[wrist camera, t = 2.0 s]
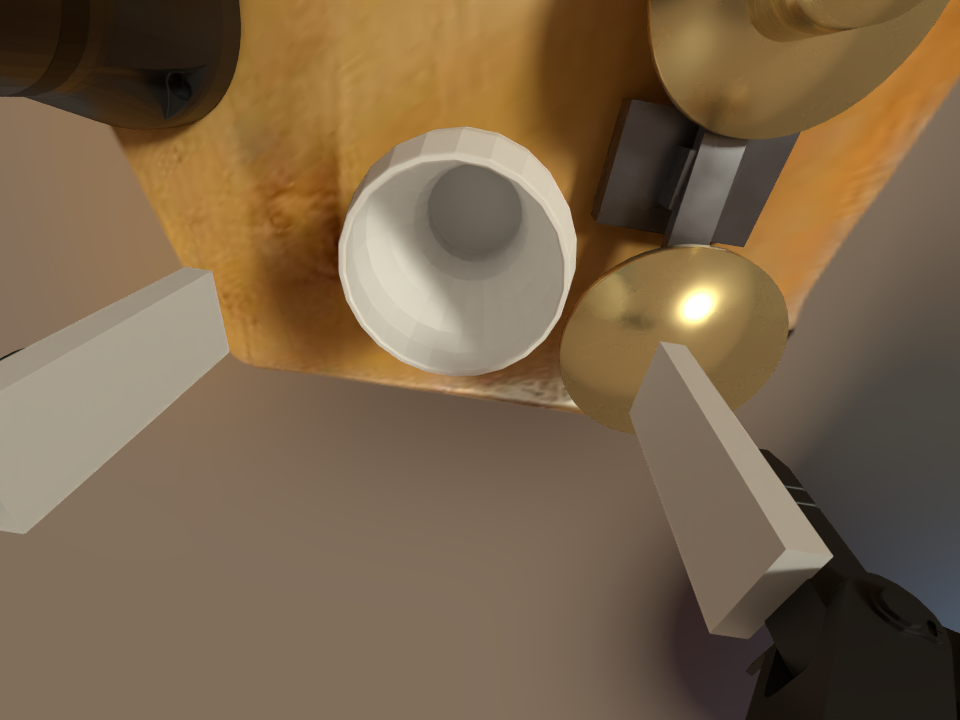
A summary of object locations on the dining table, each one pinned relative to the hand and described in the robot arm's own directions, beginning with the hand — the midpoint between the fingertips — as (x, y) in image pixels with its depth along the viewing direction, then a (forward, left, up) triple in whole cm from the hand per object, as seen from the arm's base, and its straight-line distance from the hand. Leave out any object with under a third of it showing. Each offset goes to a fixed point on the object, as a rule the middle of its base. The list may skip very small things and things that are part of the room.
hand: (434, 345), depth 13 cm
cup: (0, 0, -20) cm, 20 cm away
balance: (+13, +4, -20) cm, 24 cm away
